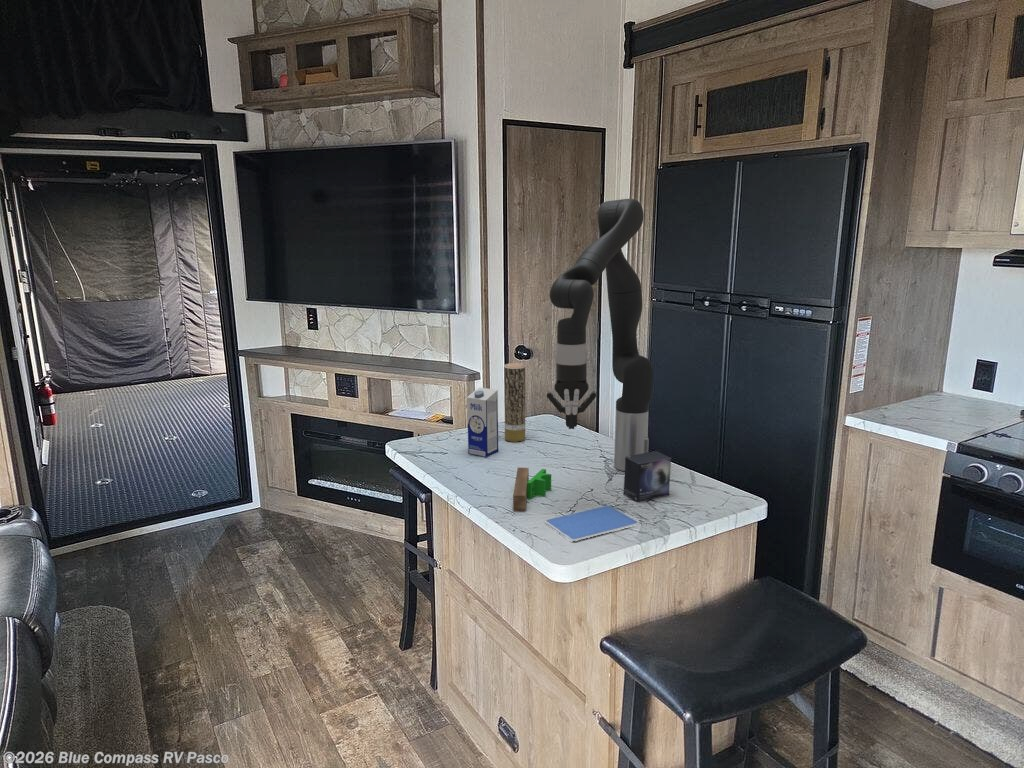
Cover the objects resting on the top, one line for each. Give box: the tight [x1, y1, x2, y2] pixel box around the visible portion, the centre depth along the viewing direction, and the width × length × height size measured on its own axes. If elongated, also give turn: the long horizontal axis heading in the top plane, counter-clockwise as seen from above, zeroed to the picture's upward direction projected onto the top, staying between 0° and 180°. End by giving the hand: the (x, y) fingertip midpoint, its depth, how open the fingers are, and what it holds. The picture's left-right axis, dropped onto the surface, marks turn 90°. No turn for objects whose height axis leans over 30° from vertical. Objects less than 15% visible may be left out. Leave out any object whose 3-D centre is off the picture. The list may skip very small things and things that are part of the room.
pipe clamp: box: [527, 468, 552, 500], centre depth 178 cm, size 11×4×5 cm, turn 157°
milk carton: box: [466, 386, 499, 458], centre depth 208 cm, size 7×7×20 cm
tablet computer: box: [544, 505, 640, 541], centre depth 159 cm, size 19×13×1 cm, turn 119°
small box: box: [623, 450, 672, 503], centre depth 175 cm, size 11×6×10 cm, turn 117°
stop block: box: [512, 467, 530, 512], centre depth 176 cm, size 3×20×4 cm, turn 176°
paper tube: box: [503, 362, 526, 443], centre depth 220 cm, size 7×7×25 cm
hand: (571, 428), depth 171 cm, fingers closed
